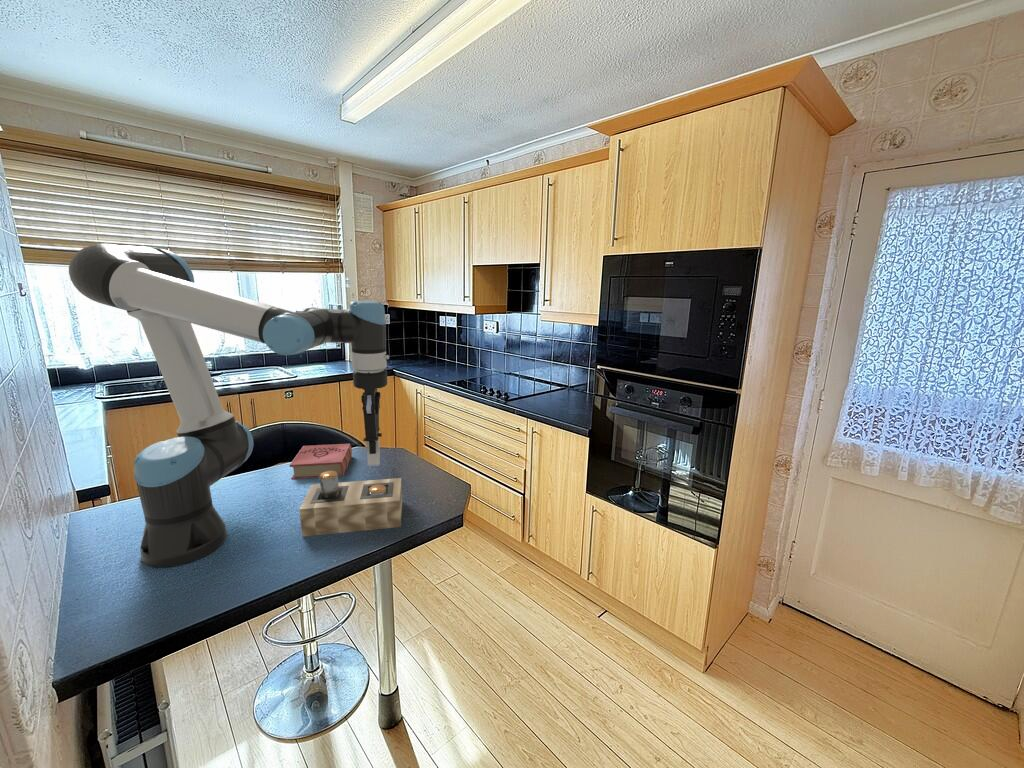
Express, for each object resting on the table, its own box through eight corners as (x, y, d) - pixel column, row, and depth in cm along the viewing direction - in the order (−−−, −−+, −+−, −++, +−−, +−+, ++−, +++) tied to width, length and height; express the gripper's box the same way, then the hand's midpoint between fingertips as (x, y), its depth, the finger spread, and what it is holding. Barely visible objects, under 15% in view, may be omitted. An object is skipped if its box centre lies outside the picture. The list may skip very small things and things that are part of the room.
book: (345, 477, 129) (344, 461, 128) (291, 480, 127) (289, 464, 125) (353, 457, 143) (352, 443, 142) (304, 460, 140) (303, 446, 139)
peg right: (369, 517, 106) (368, 492, 104) (371, 509, 110) (369, 485, 108) (386, 516, 107) (385, 491, 105) (387, 507, 110) (386, 483, 109)
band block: (302, 536, 99) (299, 508, 97) (314, 509, 111) (311, 484, 109) (400, 526, 104) (399, 500, 102) (402, 501, 115) (401, 477, 113)
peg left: (320, 504, 102) (317, 478, 101) (323, 496, 106) (321, 471, 104) (338, 503, 103) (335, 477, 102) (340, 495, 107) (338, 470, 105)
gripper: (385, 375, 94) (388, 475, 99) (388, 363, 106) (391, 452, 112) (348, 376, 92) (353, 476, 98) (356, 363, 104) (360, 453, 110)
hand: (373, 463), depth 105 cm, fingers closed
